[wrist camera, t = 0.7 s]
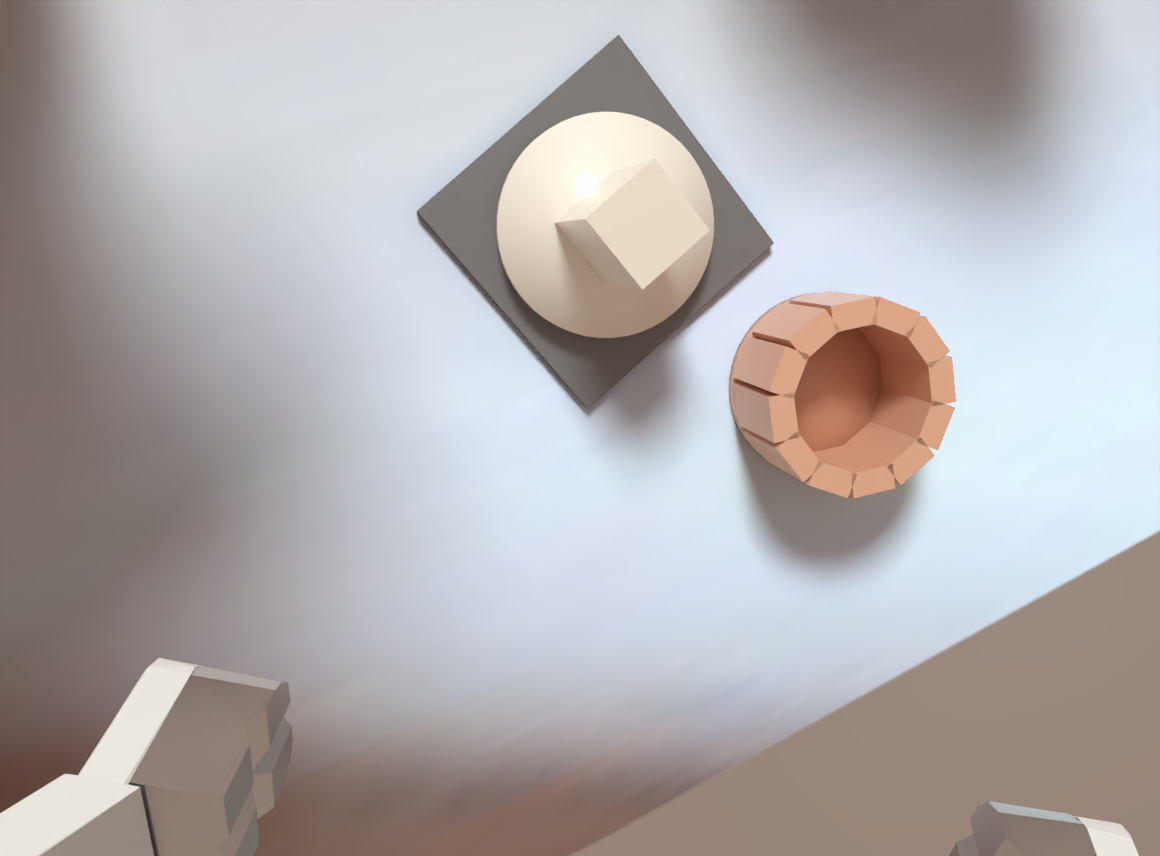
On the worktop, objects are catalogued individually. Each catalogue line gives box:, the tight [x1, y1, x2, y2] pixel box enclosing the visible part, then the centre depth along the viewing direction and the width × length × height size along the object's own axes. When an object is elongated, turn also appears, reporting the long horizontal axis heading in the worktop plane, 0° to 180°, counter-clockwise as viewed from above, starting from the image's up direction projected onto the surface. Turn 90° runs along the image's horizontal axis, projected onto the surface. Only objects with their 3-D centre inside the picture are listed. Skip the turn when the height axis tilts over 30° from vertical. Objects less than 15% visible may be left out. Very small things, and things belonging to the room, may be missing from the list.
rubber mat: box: [417, 35, 774, 408], centre depth 45 cm, size 12×12×1 cm
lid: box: [495, 112, 714, 338], centre depth 41 cm, size 10×10×8 cm
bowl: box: [729, 292, 956, 498], centre depth 46 cm, size 9×9×5 cm
